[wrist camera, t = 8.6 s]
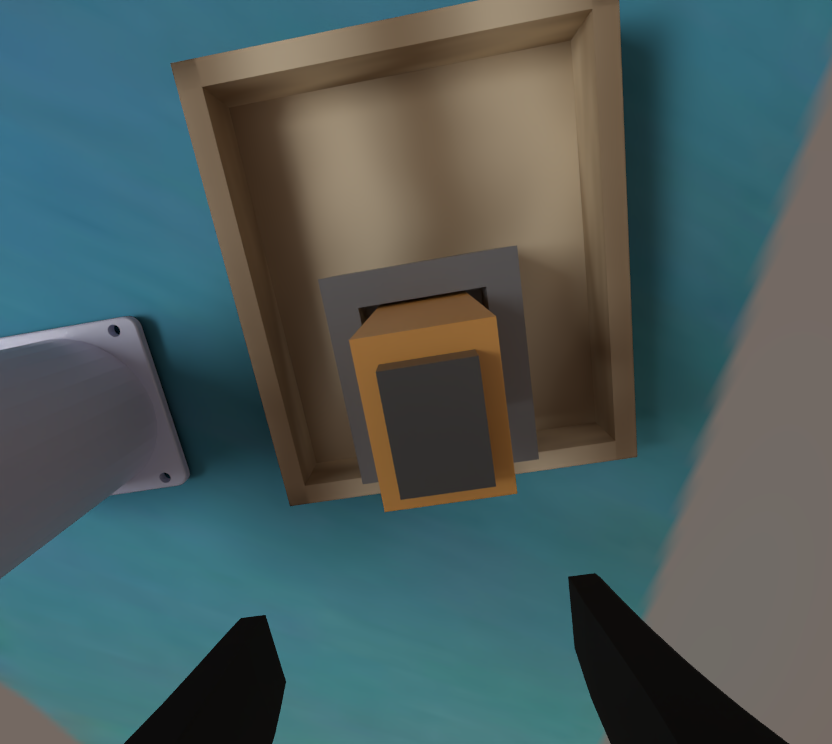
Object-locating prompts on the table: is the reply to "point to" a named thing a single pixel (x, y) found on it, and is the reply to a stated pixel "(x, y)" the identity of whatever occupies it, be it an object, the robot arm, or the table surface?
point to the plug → (434, 401)
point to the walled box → (425, 205)
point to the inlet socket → (472, 272)
